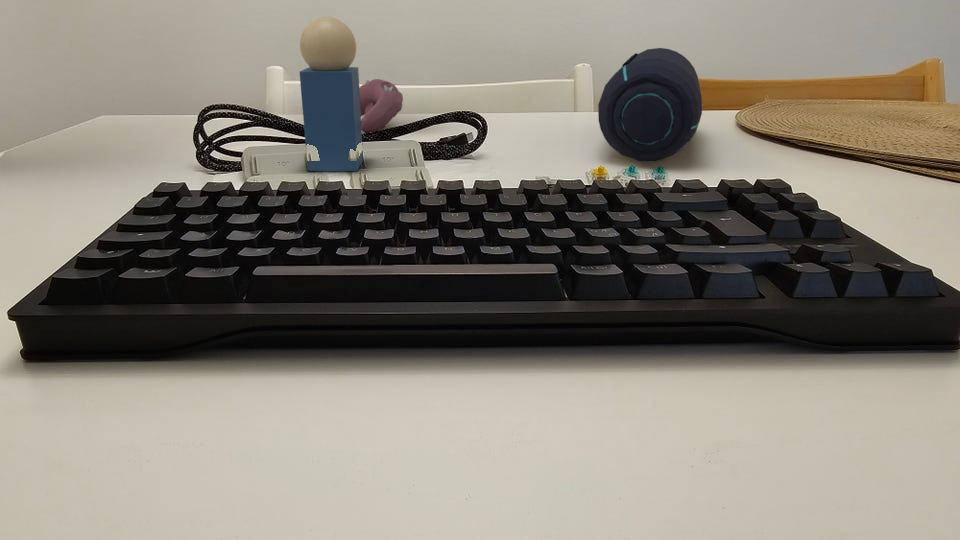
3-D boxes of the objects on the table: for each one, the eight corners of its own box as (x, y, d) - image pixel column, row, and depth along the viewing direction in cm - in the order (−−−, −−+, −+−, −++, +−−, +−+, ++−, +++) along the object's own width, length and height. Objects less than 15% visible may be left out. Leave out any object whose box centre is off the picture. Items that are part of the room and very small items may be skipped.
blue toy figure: (305, 171, 64) (291, 17, 59) (315, 160, 69) (303, 16, 64) (359, 171, 64) (350, 17, 59) (365, 160, 69) (358, 16, 64)
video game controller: (392, 145, 84) (415, 91, 83) (359, 131, 81) (382, 75, 80) (364, 132, 92) (384, 83, 91) (333, 119, 89) (353, 68, 88)
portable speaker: (614, 125, 90) (620, 45, 86) (693, 129, 87) (703, 47, 84) (589, 166, 67) (596, 59, 63) (696, 173, 65) (709, 63, 61)
